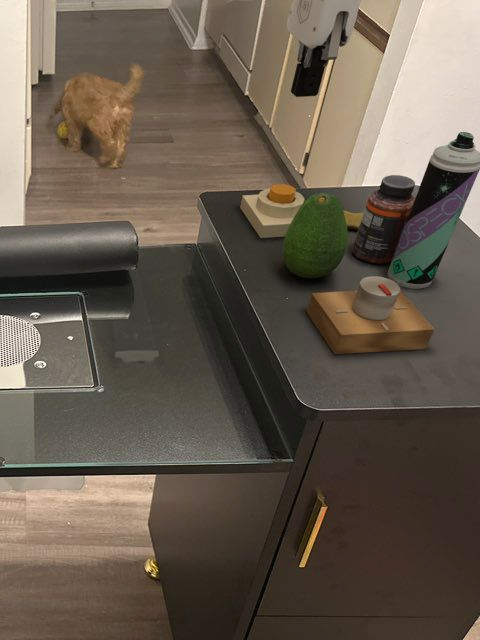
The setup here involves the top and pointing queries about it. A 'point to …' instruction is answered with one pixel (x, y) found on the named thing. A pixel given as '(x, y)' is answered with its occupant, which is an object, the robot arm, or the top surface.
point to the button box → (270, 213)
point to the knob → (375, 298)
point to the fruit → (316, 237)
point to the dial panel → (367, 325)
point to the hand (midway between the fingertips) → (303, 94)
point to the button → (282, 194)
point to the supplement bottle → (384, 220)
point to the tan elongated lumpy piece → (353, 219)
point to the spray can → (435, 212)
